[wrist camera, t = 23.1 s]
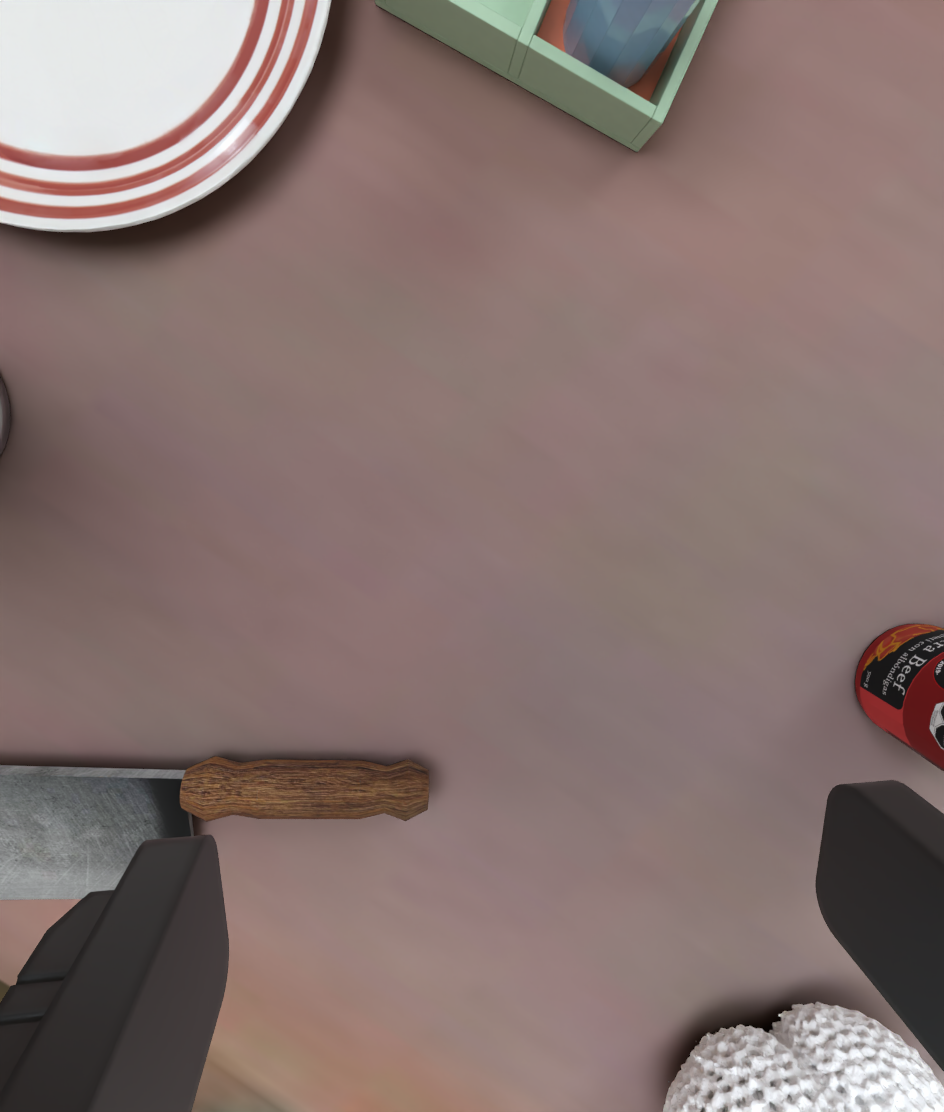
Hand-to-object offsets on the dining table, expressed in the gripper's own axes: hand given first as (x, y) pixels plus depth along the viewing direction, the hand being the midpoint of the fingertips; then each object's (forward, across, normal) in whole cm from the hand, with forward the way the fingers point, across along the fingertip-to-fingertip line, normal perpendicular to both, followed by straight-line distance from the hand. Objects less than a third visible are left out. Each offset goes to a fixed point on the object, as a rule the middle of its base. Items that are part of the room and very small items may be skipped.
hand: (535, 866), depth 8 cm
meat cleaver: (+32, +17, +21) cm, 42 cm away
